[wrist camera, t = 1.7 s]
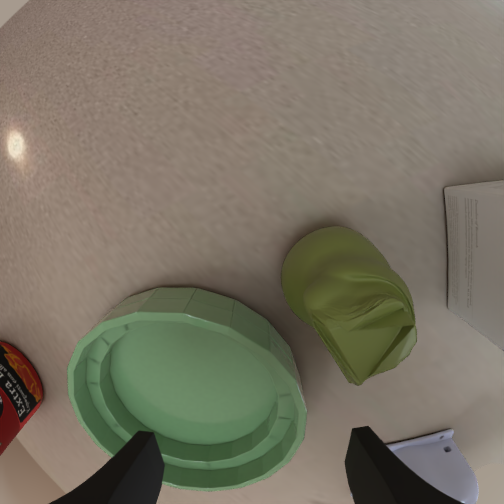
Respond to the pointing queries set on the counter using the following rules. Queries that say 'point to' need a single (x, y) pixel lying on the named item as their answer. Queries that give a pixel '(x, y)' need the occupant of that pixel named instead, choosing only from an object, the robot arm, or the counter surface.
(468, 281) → the white product box
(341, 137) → the counter surface
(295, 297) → the pear
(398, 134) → the counter surface
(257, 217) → the counter surface
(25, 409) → the canned food
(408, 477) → the robot arm
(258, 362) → the bowl
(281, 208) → the counter surface
